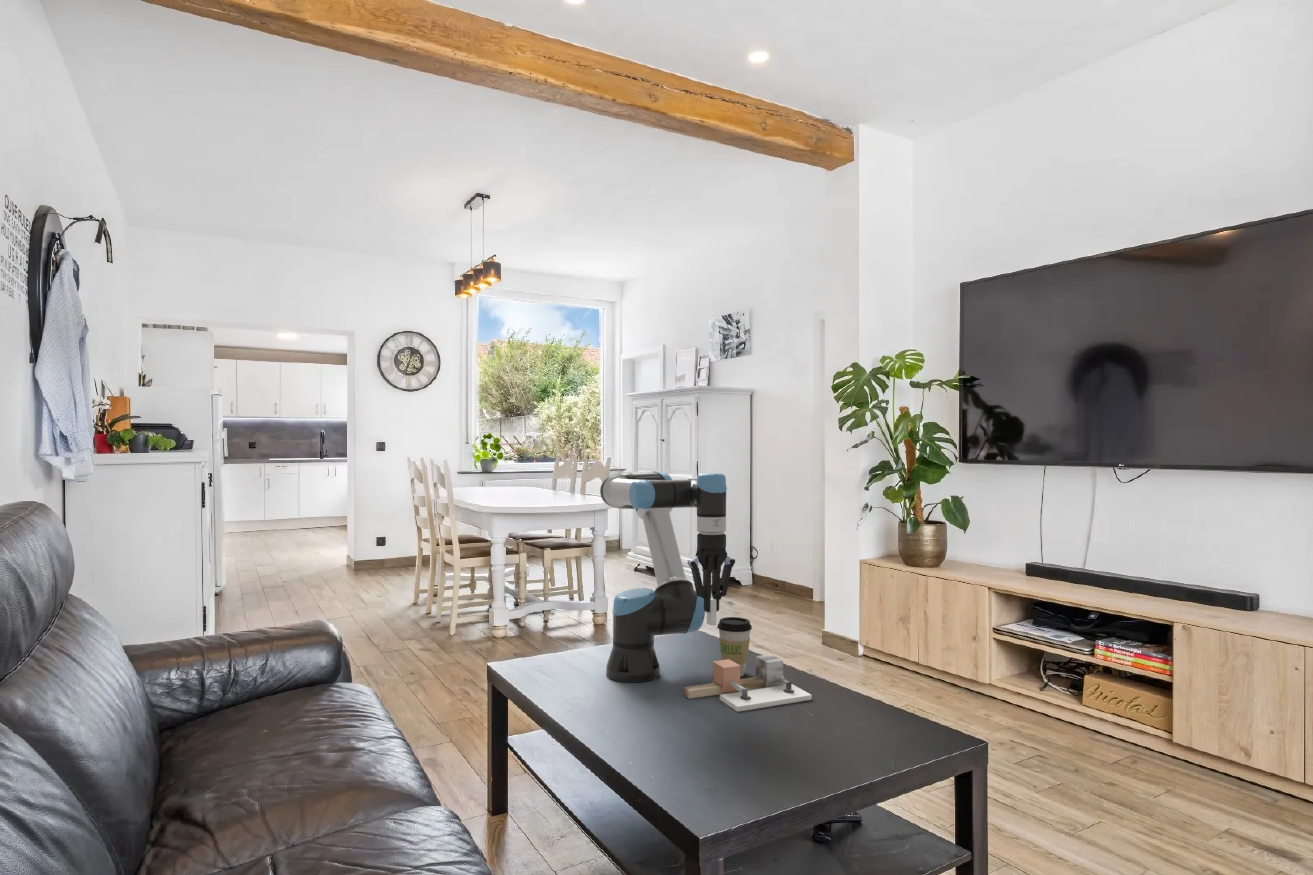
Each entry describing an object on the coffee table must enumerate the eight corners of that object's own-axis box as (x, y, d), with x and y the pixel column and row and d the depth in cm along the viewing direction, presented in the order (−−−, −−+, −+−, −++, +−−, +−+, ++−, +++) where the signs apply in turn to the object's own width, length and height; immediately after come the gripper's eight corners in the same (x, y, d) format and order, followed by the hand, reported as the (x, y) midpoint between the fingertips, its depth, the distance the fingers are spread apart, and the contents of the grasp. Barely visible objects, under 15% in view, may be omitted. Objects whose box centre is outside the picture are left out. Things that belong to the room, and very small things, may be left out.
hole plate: (719, 699, 192) (719, 694, 192) (791, 688, 201) (791, 683, 201) (737, 711, 184) (737, 706, 184) (811, 699, 193) (811, 694, 193)
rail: (681, 692, 196) (681, 665, 196) (775, 679, 208) (775, 653, 208) (704, 710, 184) (705, 681, 184) (802, 694, 196) (803, 667, 196)
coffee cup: (710, 670, 215) (711, 618, 215) (739, 666, 220) (740, 615, 219) (727, 680, 207) (728, 626, 206) (758, 676, 211) (758, 623, 211)
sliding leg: (712, 685, 200) (712, 661, 200) (728, 683, 202) (729, 659, 202) (737, 701, 188) (737, 676, 188) (754, 699, 190) (754, 673, 190)
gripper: (694, 535, 188) (694, 629, 187) (740, 533, 193) (740, 625, 192) (682, 532, 195) (682, 623, 194) (727, 530, 200) (727, 619, 199)
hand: (711, 624), depth 193 cm, fingers closed
